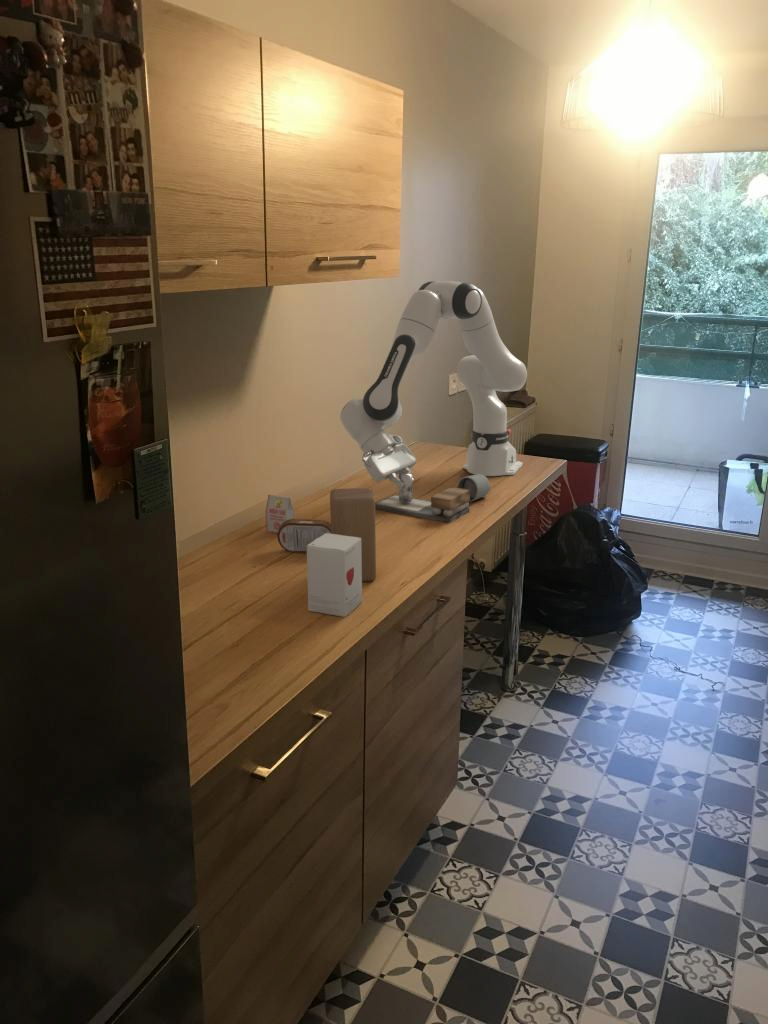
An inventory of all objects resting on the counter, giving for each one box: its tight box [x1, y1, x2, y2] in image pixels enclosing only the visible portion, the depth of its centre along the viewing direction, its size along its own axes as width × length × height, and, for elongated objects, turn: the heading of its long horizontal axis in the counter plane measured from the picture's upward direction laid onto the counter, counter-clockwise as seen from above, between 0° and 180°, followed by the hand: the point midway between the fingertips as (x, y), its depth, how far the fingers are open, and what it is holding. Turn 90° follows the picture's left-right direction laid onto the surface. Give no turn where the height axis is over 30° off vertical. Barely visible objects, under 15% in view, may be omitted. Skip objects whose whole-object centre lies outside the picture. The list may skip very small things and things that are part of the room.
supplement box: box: [306, 533, 363, 618], centre depth 177 cm, size 9×9×15 cm
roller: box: [398, 472, 413, 502], centre depth 245 cm, size 4×4×8 cm
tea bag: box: [265, 494, 295, 534], centre depth 226 cm, size 4×7×10 cm, turn 62°
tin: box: [276, 518, 331, 554], centre depth 211 cm, size 15×3×8 cm, turn 84°
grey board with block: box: [375, 486, 470, 523], centre depth 244 cm, size 12×26×7 cm, turn 58°
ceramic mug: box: [456, 474, 491, 503], centre depth 255 cm, size 11×8×8 cm
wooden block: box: [329, 487, 377, 582], centre depth 194 cm, size 10×10×20 cm
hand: (407, 484), depth 245 cm, fingers closed on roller, 4 cm apart
